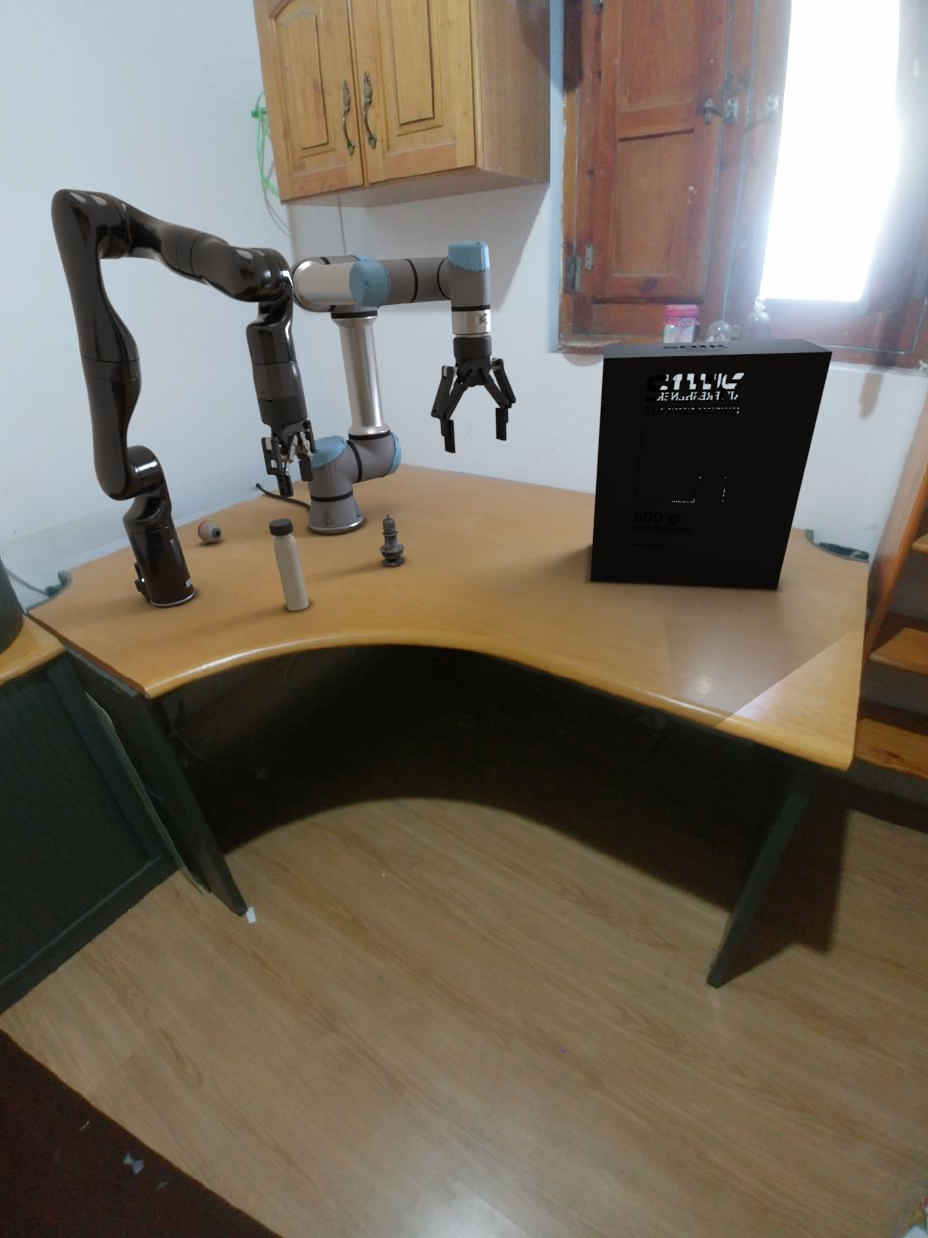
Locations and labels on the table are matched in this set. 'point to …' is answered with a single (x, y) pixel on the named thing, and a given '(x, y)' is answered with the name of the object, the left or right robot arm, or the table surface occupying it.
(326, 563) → the table surface
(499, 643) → the table surface
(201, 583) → the table surface
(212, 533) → the eyeball
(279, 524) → the cap
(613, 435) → the cardboard box
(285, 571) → the bottle
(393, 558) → the grey tall tiered piece
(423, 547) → the table surface
